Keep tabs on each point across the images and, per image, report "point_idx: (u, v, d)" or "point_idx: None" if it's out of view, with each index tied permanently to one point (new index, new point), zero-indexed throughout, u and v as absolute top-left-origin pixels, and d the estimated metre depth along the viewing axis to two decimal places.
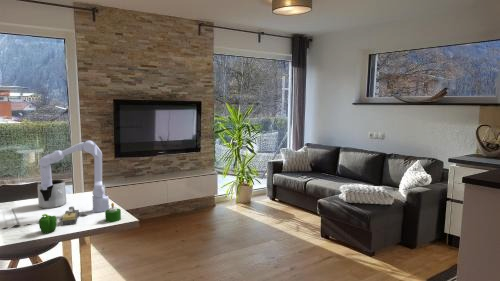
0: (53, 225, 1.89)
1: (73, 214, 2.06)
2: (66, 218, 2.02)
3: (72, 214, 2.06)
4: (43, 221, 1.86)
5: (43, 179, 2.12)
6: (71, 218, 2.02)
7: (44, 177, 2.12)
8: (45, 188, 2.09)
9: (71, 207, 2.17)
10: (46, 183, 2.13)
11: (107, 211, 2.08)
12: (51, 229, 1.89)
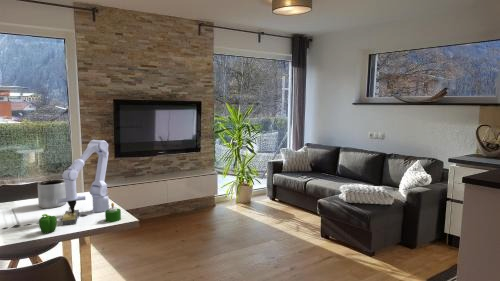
0: (53, 225, 1.89)
1: (73, 214, 2.06)
2: (66, 218, 2.02)
3: (72, 214, 2.06)
4: (43, 221, 1.86)
5: None
6: (71, 218, 2.02)
7: None
8: (57, 201, 2.06)
9: None
10: (66, 197, 2.08)
11: (107, 211, 2.08)
12: (51, 229, 1.89)
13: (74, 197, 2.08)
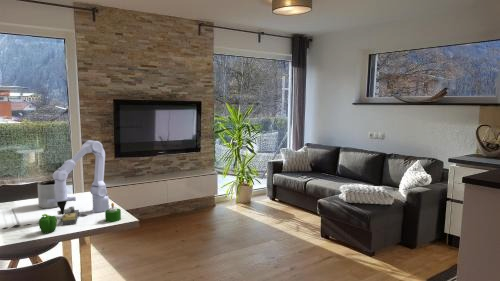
0: (53, 225, 1.89)
1: (73, 214, 2.06)
2: (66, 218, 2.02)
3: (72, 214, 2.06)
4: (43, 221, 1.86)
5: None
6: (71, 218, 2.02)
7: None
8: None
9: (70, 207, 2.17)
10: (56, 197, 2.08)
11: (107, 211, 2.08)
12: (51, 229, 1.89)
13: (63, 198, 2.08)
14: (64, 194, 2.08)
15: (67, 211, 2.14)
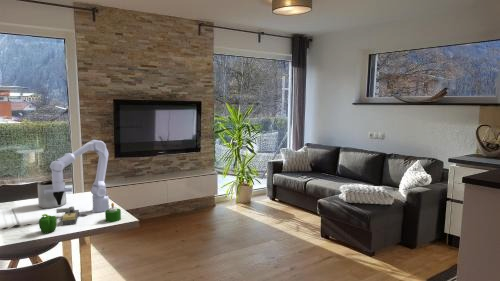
0: (53, 225, 1.89)
1: (73, 214, 2.06)
2: (66, 218, 2.02)
3: (72, 214, 2.06)
4: (43, 221, 1.86)
5: None
6: (71, 218, 2.02)
7: None
8: None
9: (70, 207, 2.17)
10: None
11: (107, 211, 2.08)
12: (51, 229, 1.89)
13: (60, 188, 2.08)
14: (61, 185, 2.09)
15: (65, 210, 2.15)
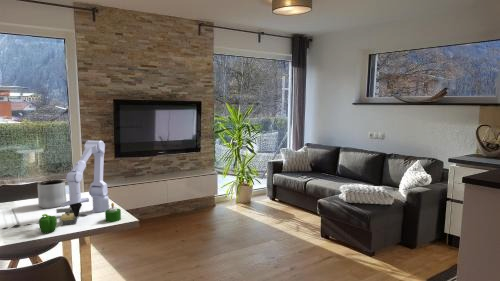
0: (53, 225, 1.89)
1: (71, 214, 2.06)
2: (64, 218, 2.01)
3: (70, 214, 2.06)
4: (43, 221, 1.86)
5: (69, 195, 2.04)
6: (69, 218, 2.02)
7: (69, 193, 2.03)
8: (62, 205, 2.00)
9: (70, 207, 2.17)
10: (70, 200, 2.03)
11: (107, 211, 2.08)
12: (51, 229, 1.89)
13: (79, 199, 2.05)
14: (80, 195, 2.05)
15: (65, 210, 2.15)
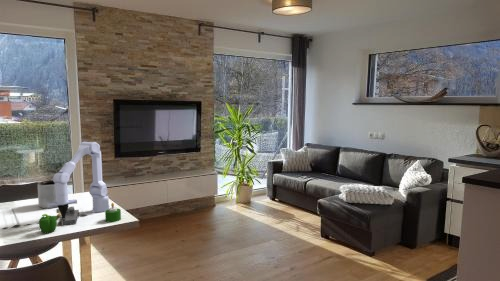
0: (53, 225, 1.89)
1: None
2: None
3: None
4: (43, 221, 1.86)
5: None
6: None
7: (56, 194, 2.01)
8: None
9: (70, 207, 2.17)
10: None
11: (107, 211, 2.08)
12: (51, 229, 1.89)
13: (65, 201, 2.02)
14: (66, 197, 2.02)
15: None
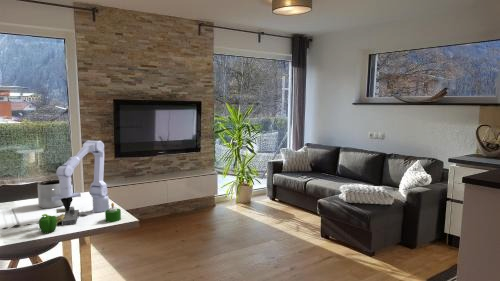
0: (53, 225, 1.89)
1: (60, 216, 2.05)
2: None
3: (59, 216, 2.05)
4: (43, 221, 1.86)
5: None
6: (58, 220, 2.01)
7: None
8: (52, 199, 1.99)
9: (70, 207, 2.17)
10: (60, 194, 2.01)
11: (107, 211, 2.08)
12: (51, 229, 1.89)
13: (69, 194, 2.02)
14: (70, 190, 2.03)
15: (65, 210, 2.15)
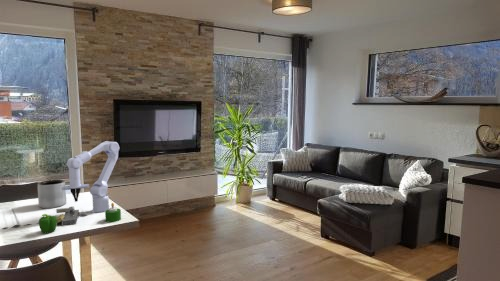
0: (53, 225, 1.89)
1: (60, 216, 2.05)
2: None
3: (59, 216, 2.05)
4: (43, 221, 1.86)
5: None
6: (58, 220, 2.01)
7: None
8: (61, 188, 2.11)
9: (70, 207, 2.17)
10: None
11: (107, 211, 2.08)
12: (51, 229, 1.89)
13: (77, 185, 2.12)
14: (78, 181, 2.12)
15: (65, 210, 2.15)
